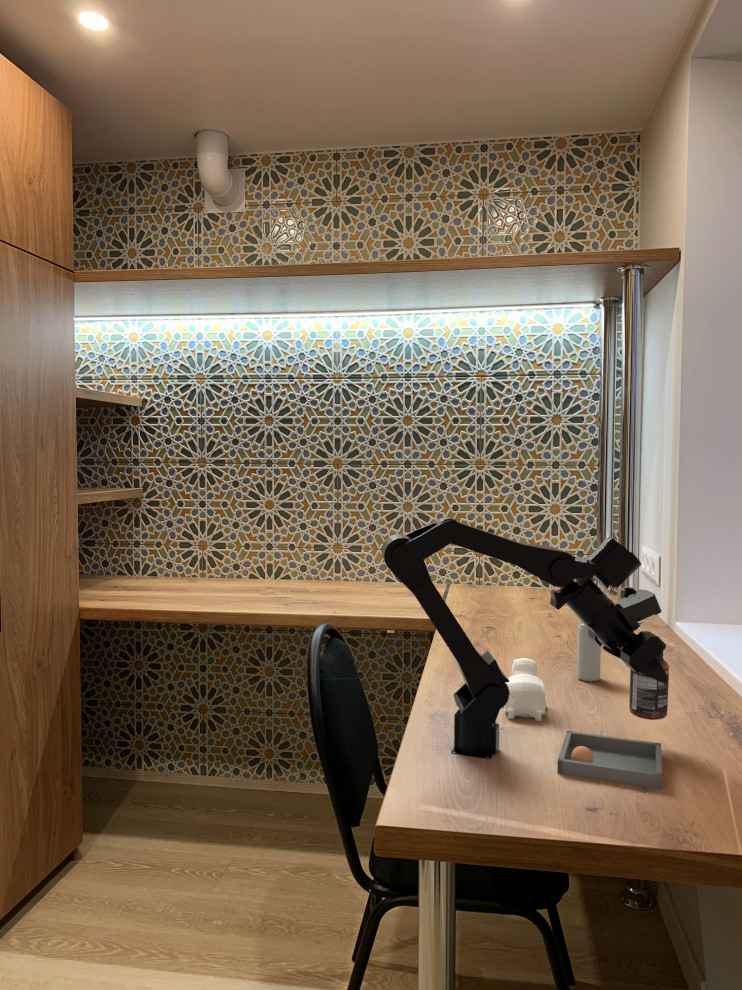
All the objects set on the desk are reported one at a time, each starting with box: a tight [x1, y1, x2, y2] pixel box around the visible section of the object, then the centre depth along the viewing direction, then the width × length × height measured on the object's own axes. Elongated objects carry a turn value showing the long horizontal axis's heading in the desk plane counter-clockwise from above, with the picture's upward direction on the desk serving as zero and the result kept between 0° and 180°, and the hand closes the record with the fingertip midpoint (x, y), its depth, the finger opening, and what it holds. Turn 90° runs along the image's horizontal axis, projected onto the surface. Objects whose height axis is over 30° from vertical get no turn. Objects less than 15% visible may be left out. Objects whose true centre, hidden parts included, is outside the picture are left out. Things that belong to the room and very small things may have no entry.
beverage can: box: [576, 621, 602, 683], centre depth 157 cm, size 5×5×12 cm
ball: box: [572, 746, 593, 763], centre depth 111 cm, size 3×3×3 cm
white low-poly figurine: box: [503, 657, 548, 722], centre depth 138 cm, size 9×8×15 cm
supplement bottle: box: [628, 650, 670, 721], centre depth 120 cm, size 6×6×11 cm
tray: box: [557, 730, 663, 790], centre depth 113 cm, size 15×13×2 cm
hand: (657, 675), depth 120 cm, fingers closed on supplement bottle, 6 cm apart
